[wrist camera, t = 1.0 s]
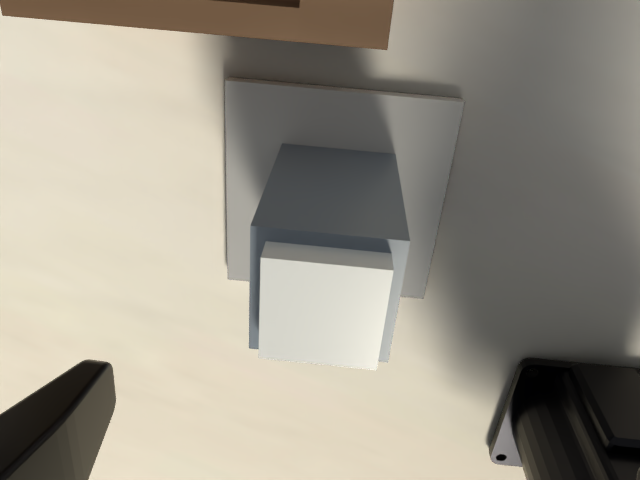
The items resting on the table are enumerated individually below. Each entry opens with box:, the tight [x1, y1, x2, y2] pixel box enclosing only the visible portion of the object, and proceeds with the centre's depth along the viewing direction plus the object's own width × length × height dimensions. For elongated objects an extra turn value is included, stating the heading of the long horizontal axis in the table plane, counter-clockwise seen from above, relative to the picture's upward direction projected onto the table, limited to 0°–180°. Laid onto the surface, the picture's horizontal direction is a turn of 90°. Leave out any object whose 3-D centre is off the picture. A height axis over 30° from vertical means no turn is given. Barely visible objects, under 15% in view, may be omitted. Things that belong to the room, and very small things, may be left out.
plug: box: [249, 143, 410, 370], centre depth 17 cm, size 4×4×7 cm
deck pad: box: [225, 77, 465, 299], centre depth 20 cm, size 8×8×1 cm
